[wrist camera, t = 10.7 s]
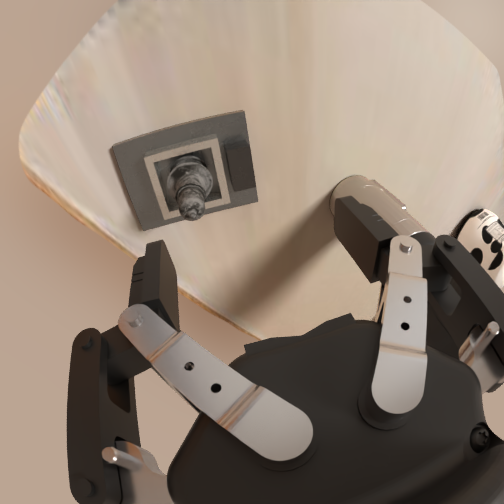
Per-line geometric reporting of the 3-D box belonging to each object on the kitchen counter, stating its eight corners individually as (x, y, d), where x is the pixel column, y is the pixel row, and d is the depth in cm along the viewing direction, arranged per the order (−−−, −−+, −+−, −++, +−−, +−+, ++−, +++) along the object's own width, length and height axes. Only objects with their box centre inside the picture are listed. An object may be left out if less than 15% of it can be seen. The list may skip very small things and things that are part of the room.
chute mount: (242, 109, 35) (249, 115, 32) (256, 198, 44) (263, 211, 40) (114, 144, 33) (106, 153, 30) (144, 226, 42) (141, 242, 39)
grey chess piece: (202, 196, 40) (211, 245, 31) (163, 187, 38) (158, 236, 29) (215, 159, 37) (229, 198, 28) (174, 149, 35) (171, 185, 26)
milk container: (461, 260, 71) (495, 299, 57) (442, 244, 63) (483, 290, 49) (491, 217, 63) (529, 253, 49) (477, 194, 55) (524, 233, 41)
